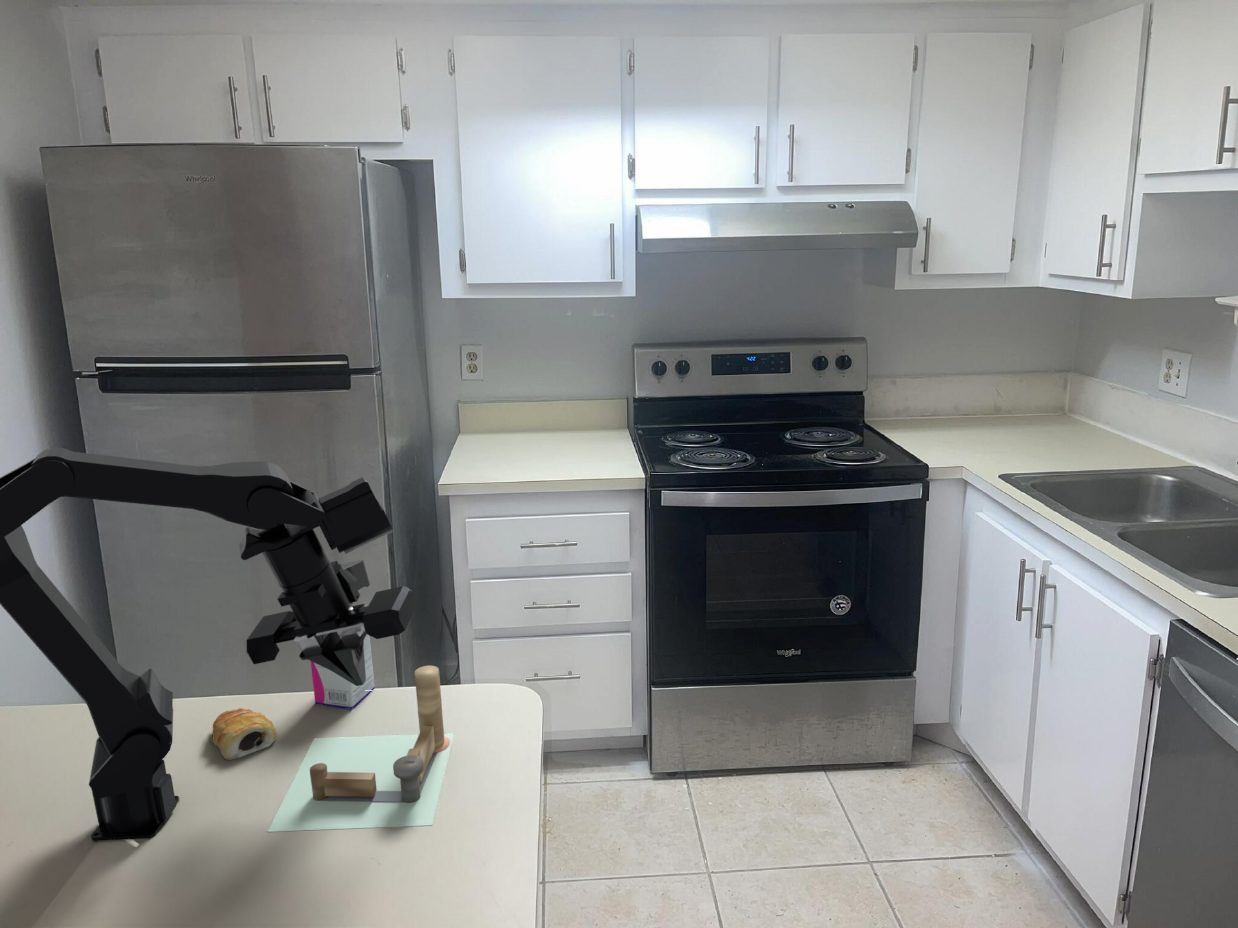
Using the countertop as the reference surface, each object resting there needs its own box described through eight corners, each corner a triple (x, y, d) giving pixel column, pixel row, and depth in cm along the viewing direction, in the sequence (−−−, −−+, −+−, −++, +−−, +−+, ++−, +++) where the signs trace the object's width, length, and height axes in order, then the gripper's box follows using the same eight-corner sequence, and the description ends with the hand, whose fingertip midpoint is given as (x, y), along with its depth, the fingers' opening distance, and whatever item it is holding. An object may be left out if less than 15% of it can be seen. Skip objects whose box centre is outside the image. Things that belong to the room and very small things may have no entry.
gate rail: (421, 804, 96) (415, 726, 93) (392, 803, 96) (384, 726, 93) (448, 735, 108) (443, 665, 106) (422, 735, 108) (416, 665, 106)
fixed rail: (422, 791, 98) (420, 763, 97) (417, 802, 96) (415, 775, 96) (316, 789, 99) (313, 762, 98) (310, 801, 97) (306, 773, 96)
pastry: (201, 734, 111) (197, 707, 110) (255, 714, 115) (252, 688, 114) (227, 767, 104) (223, 739, 103) (284, 745, 108) (280, 717, 107)
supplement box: (376, 688, 120) (368, 611, 117) (352, 711, 115) (344, 631, 112) (338, 683, 122) (330, 606, 119) (313, 705, 116) (303, 626, 113)
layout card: (267, 833, 92) (267, 830, 92) (314, 740, 109) (314, 737, 109) (432, 827, 93) (432, 823, 93) (454, 735, 109) (454, 732, 109)
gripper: (404, 516, 101) (453, 625, 108) (260, 550, 105) (315, 653, 111) (372, 570, 91) (429, 686, 98) (214, 605, 95) (278, 715, 101)
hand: (361, 682), depth 102 cm, fingers closed
